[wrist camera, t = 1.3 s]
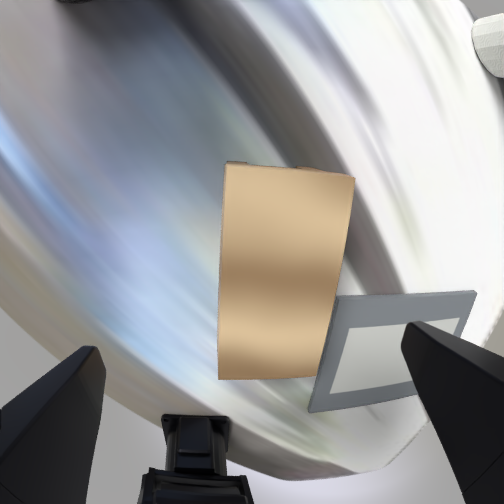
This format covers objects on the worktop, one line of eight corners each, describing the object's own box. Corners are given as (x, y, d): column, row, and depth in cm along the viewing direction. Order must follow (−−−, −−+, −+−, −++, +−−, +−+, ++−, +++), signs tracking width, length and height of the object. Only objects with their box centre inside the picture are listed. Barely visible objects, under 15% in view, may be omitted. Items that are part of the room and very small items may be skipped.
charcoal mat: (431, 386, 30) (434, 390, 29) (307, 408, 28) (309, 413, 27) (473, 290, 25) (477, 292, 25) (336, 295, 23) (339, 299, 23)
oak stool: (294, 324, 24) (315, 376, 18) (216, 324, 23) (218, 379, 17) (317, 165, 19) (355, 178, 14) (223, 157, 19) (226, 166, 13)
